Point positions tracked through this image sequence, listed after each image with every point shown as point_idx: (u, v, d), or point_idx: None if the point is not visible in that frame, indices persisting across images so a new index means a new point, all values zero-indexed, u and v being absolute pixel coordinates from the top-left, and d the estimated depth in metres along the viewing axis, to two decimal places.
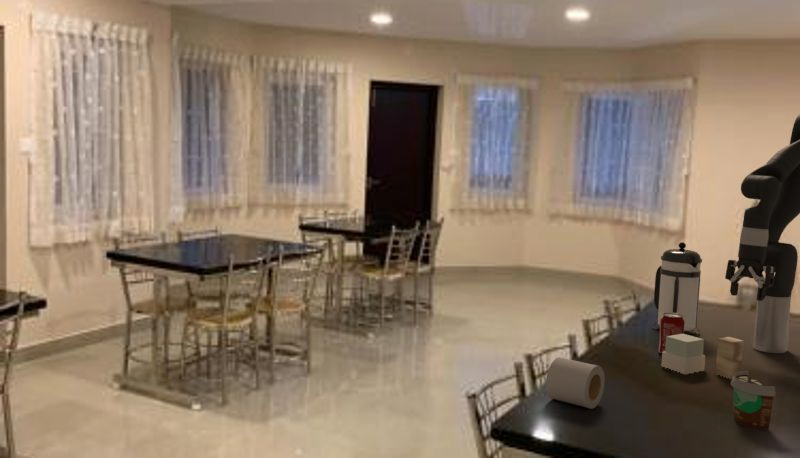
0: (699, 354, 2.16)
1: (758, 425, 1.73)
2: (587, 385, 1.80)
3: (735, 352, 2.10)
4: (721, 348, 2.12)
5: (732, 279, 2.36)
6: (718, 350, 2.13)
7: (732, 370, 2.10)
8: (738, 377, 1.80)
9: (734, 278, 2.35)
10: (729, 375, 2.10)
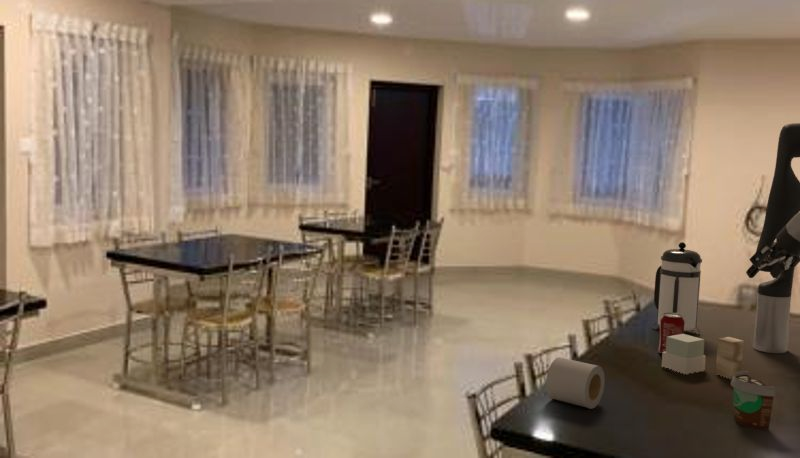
0: (700, 354, 2.16)
1: (758, 425, 1.73)
2: (587, 385, 1.80)
3: (735, 352, 2.10)
4: (721, 348, 2.12)
5: (761, 266, 2.00)
6: (718, 350, 2.13)
7: (732, 370, 2.10)
8: (738, 377, 1.80)
9: (764, 265, 2.00)
10: (729, 375, 2.10)
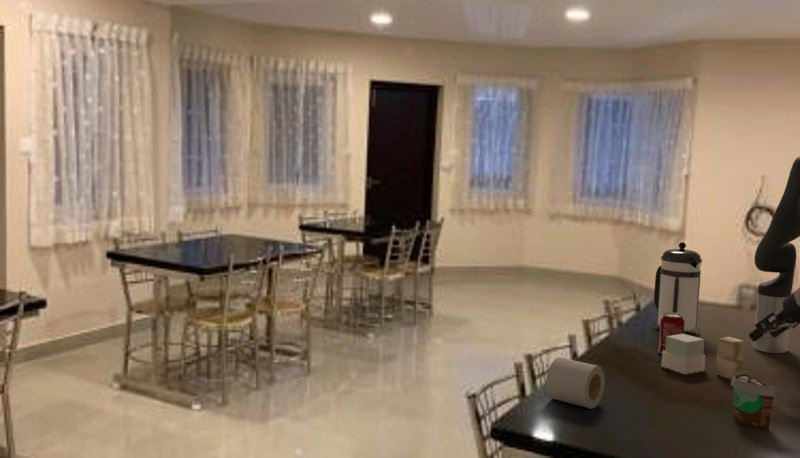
0: (699, 354, 2.16)
1: (758, 425, 1.73)
2: (587, 385, 1.80)
3: (735, 352, 2.10)
4: (721, 348, 2.12)
5: (766, 332, 1.98)
6: (718, 350, 2.13)
7: (732, 370, 2.10)
8: (738, 377, 1.80)
9: (769, 331, 1.98)
10: (729, 375, 2.10)
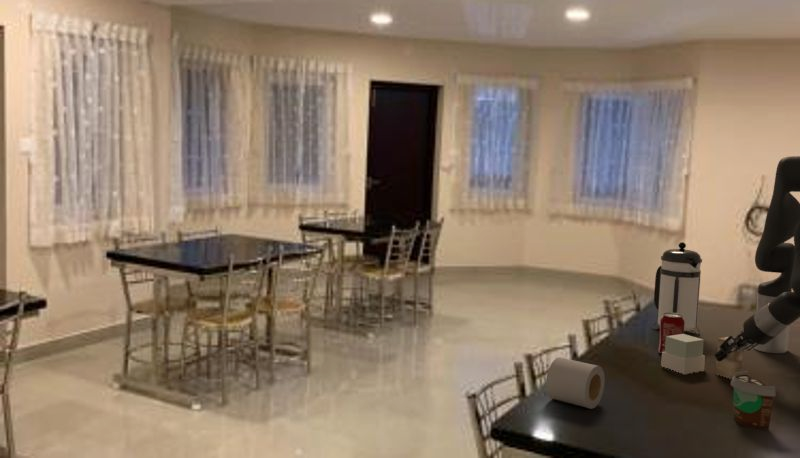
0: (699, 354, 2.16)
1: (758, 425, 1.73)
2: (587, 385, 1.80)
3: (735, 351, 2.10)
4: None
5: (730, 353, 2.09)
6: (718, 350, 2.13)
7: (732, 370, 2.10)
8: (738, 377, 1.80)
9: (732, 352, 2.09)
10: (729, 375, 2.10)
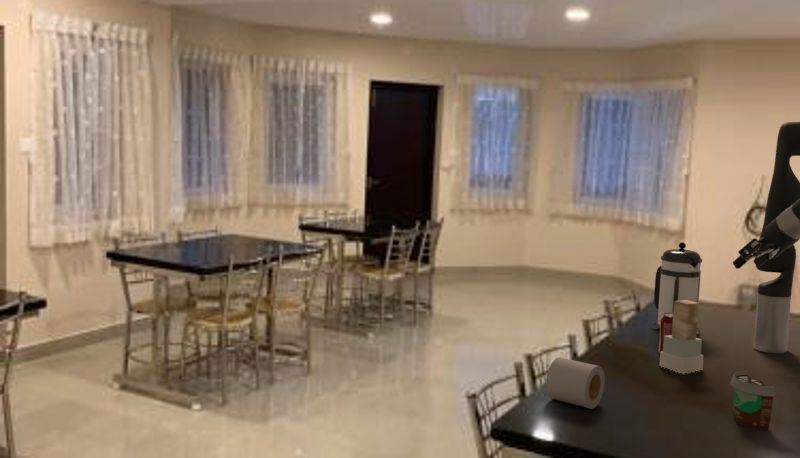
0: (697, 354, 2.16)
1: (758, 425, 1.73)
2: (587, 385, 1.80)
3: (690, 313, 2.14)
4: (677, 310, 2.17)
5: (749, 258, 2.01)
6: (674, 312, 2.17)
7: (687, 331, 2.15)
8: (738, 377, 1.80)
9: (752, 257, 2.01)
10: (684, 336, 2.15)
